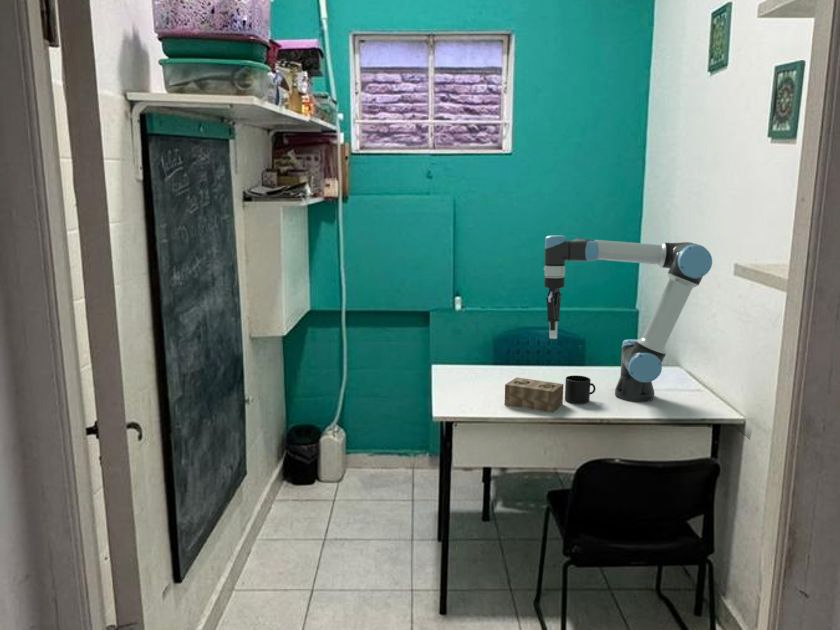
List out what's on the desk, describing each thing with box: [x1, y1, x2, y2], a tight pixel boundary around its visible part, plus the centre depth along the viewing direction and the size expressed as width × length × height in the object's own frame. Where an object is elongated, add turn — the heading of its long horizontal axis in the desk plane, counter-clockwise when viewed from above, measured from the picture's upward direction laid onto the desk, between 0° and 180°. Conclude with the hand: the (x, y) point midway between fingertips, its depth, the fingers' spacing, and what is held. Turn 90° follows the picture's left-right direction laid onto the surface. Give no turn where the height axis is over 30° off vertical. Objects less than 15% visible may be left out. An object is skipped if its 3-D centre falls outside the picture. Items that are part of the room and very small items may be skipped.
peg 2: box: [542, 383, 552, 389], centre depth 263 cm, size 4×4×8 cm
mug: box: [564, 374, 596, 405], centre depth 271 cm, size 9×12×9 cm
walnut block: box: [504, 376, 564, 413], centre depth 265 cm, size 19×12×8 cm, turn 61°
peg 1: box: [517, 380, 527, 385], centre depth 268 cm, size 4×4×8 cm
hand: (553, 338), depth 265 cm, fingers closed
